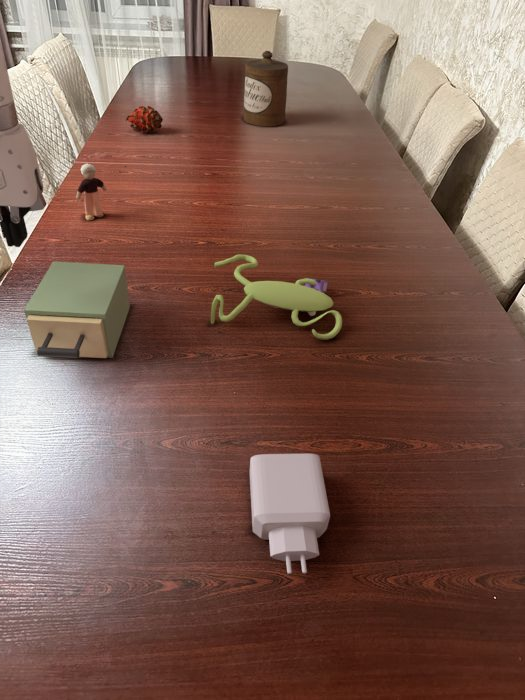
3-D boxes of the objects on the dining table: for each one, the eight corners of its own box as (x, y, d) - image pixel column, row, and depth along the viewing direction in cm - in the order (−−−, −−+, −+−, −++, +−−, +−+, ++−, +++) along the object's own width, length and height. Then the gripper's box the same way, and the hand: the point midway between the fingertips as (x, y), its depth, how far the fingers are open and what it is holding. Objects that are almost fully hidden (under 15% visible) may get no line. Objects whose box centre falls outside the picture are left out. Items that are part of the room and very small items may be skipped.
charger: (255, 585, 60) (249, 475, 71) (334, 582, 61) (315, 474, 72) (257, 564, 57) (250, 454, 68) (340, 562, 57) (320, 453, 69)
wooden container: (235, 118, 188) (236, 48, 173) (265, 111, 196) (269, 44, 182) (263, 129, 180) (267, 58, 166) (293, 122, 188) (299, 53, 174)
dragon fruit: (166, 138, 172) (130, 141, 173) (166, 116, 174) (131, 119, 175) (159, 121, 164) (121, 124, 165) (159, 98, 166) (122, 101, 167)
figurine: (219, 270, 110) (219, 247, 106) (345, 289, 107) (350, 266, 103) (194, 322, 96) (193, 297, 92) (338, 346, 93) (343, 321, 90)
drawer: (99, 379, 82) (92, 343, 77) (26, 375, 82) (14, 339, 77) (123, 309, 96) (119, 276, 91) (61, 306, 96) (53, 272, 91)
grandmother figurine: (89, 224, 122) (80, 170, 114) (77, 219, 123) (68, 166, 115) (113, 212, 127) (106, 160, 119) (102, 208, 128) (94, 156, 120)
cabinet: (112, 357, 87) (105, 314, 81) (36, 354, 87) (23, 310, 81) (130, 306, 98) (124, 265, 93) (62, 303, 98) (53, 261, 92)
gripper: (-91, 119, 63) (-45, 251, 75) (34, 130, 64) (60, 259, 76) (-61, 101, 69) (-23, 226, 81) (53, 111, 70) (74, 234, 82)
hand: (17, 242), depth 79 cm, fingers closed
